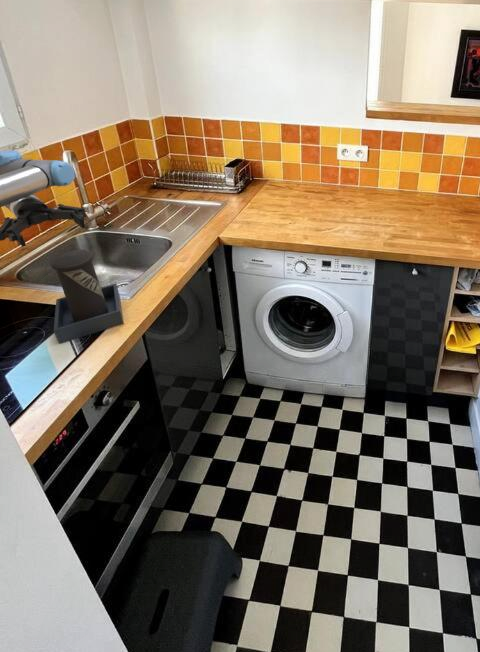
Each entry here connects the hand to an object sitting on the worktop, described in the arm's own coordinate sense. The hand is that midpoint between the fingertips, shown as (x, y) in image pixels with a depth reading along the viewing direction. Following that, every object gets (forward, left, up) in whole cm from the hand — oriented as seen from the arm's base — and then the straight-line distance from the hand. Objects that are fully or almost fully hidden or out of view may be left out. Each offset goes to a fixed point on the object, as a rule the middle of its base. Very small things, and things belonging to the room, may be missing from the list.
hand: (54, 232), depth 104 cm
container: (+3, -9, -24) cm, 25 cm away
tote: (+3, -9, -24) cm, 26 cm away
